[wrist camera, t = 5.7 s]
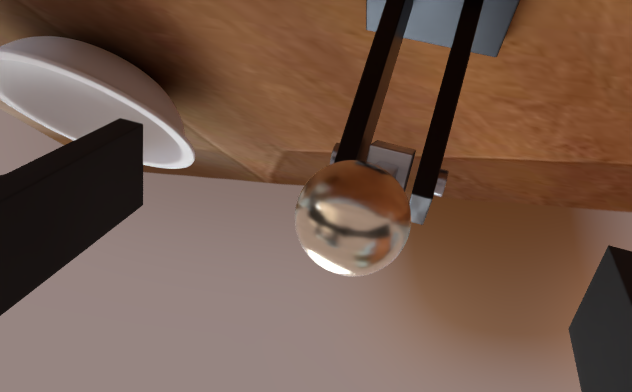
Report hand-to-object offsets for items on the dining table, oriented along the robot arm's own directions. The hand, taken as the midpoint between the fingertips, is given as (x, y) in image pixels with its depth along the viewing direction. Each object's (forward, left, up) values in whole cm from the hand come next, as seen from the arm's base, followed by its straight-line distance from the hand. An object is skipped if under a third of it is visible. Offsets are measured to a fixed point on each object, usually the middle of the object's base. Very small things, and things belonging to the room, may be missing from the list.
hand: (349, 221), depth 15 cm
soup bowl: (-23, -44, -20) cm, 53 cm away
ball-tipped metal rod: (+2, -5, -5) cm, 8 cm away
